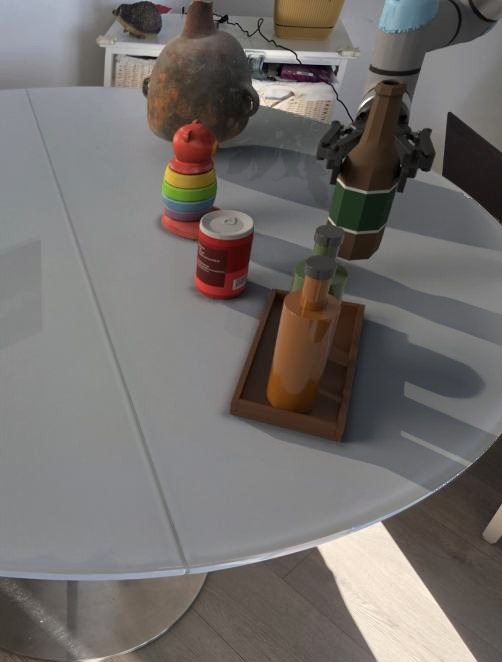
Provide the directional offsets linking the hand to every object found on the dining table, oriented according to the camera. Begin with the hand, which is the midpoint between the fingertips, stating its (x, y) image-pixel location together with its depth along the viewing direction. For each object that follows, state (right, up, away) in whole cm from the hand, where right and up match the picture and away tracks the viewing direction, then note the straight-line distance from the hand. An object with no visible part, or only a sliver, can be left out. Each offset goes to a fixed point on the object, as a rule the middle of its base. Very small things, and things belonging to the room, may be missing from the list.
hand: (367, 178), depth 84 cm
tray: (-9, -24, 0) cm, 26 cm away
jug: (-9, +21, +57) cm, 62 cm away
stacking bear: (-16, 0, +31) cm, 35 cm away
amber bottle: (-12, -28, -6) cm, 31 cm away
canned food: (-15, -13, +15) cm, 25 cm away
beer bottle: (+3, -8, +12) cm, 14 cm away
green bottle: (-9, -24, -1) cm, 26 cm away
